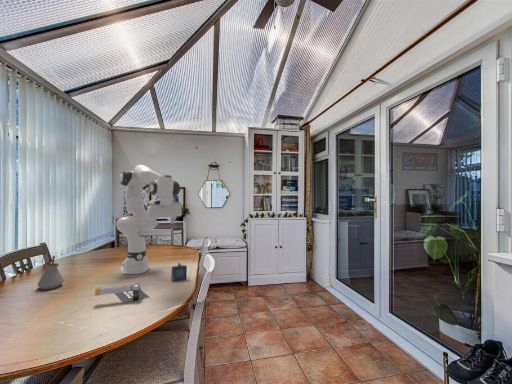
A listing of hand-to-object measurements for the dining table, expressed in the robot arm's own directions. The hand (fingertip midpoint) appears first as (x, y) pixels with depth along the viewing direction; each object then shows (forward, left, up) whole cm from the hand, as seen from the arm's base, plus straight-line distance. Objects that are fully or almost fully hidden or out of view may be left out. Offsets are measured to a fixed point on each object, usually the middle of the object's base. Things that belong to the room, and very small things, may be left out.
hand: (164, 224), depth 144 cm
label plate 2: (+6, -19, -35) cm, 41 cm away
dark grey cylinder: (+12, -19, -35) cm, 42 cm away
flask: (-2, +11, -36) cm, 38 cm away
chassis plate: (+5, -19, -36) cm, 41 cm away
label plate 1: (0, -19, -35) cm, 40 cm away
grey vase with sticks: (-45, -48, -36) cm, 75 cm away
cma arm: (+9, -26, -31) cm, 41 cm away
